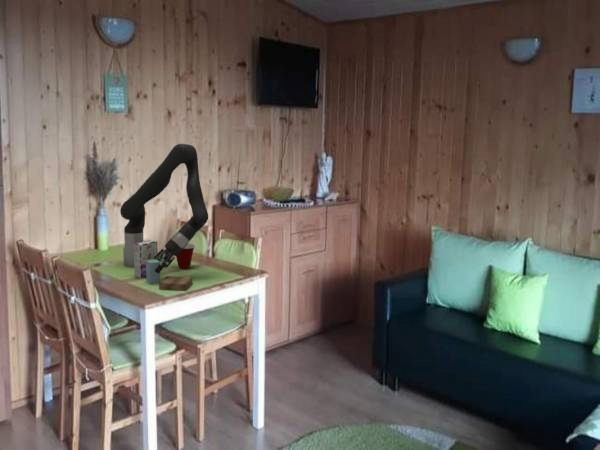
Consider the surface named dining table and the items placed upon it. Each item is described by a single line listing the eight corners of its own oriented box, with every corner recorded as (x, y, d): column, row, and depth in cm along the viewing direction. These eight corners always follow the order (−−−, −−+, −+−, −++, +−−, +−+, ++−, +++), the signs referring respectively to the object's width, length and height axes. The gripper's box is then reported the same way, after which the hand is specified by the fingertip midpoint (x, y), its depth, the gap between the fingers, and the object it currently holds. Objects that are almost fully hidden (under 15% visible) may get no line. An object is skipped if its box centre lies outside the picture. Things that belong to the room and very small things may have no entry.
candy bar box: (151, 272, 295) (150, 239, 292) (158, 273, 292) (158, 240, 289) (133, 277, 286) (133, 243, 283) (141, 278, 283) (140, 244, 280)
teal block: (149, 284, 274) (149, 262, 273) (146, 281, 279) (146, 260, 277) (160, 283, 277) (160, 261, 275) (157, 280, 281) (156, 259, 279)
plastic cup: (190, 271, 299) (190, 247, 297) (170, 269, 302) (170, 245, 299) (198, 265, 310) (198, 243, 308) (178, 264, 312) (178, 241, 310)
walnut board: (159, 289, 267) (159, 283, 266) (166, 282, 278) (166, 276, 278) (185, 290, 266) (185, 284, 265) (192, 283, 278) (192, 277, 277)
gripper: (166, 235, 285) (142, 261, 281) (176, 241, 273) (152, 268, 269) (177, 245, 288) (154, 271, 284) (188, 251, 276) (164, 278, 273)
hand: (153, 270), depth 277 cm, fingers open, 8 cm apart
